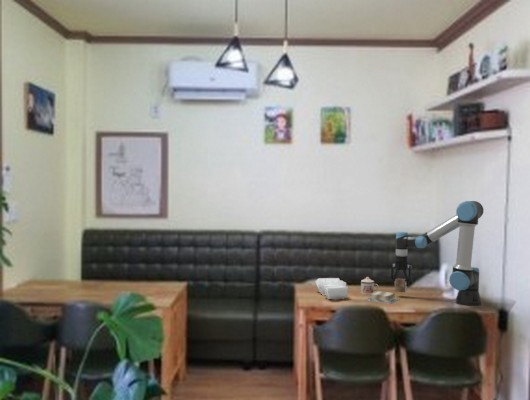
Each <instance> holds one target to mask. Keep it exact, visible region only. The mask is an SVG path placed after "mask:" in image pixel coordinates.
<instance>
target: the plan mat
mask: <svg viewBox="0 0 530 400" xmlns="http://www.w3.org/2000/svg"><path fill="white" fill-rule="evenodd" d="M364 301H367V302H375V303H381V304H382V303H383V304H394V303H397V302H398V301H400V299H399V298H394V300H392V301H391V302H389V303H387V302H379V301H371V300H370V297H369V298H367V299H365V300H364Z"/></svg>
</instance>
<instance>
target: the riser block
mask: <svg viewBox="0 0 530 400" xmlns="http://www.w3.org/2000/svg"><path fill="white" fill-rule="evenodd" d="M395 297H396V296H395V292H387V291H378V290H377V291H374V293H372V294H370V295H369V298H370V300H371V301H370V302H373V301H379V302H378V303H381V302H387V303H386V304H389V302H391V301H392V300H394V299H396V298H395Z"/></svg>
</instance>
